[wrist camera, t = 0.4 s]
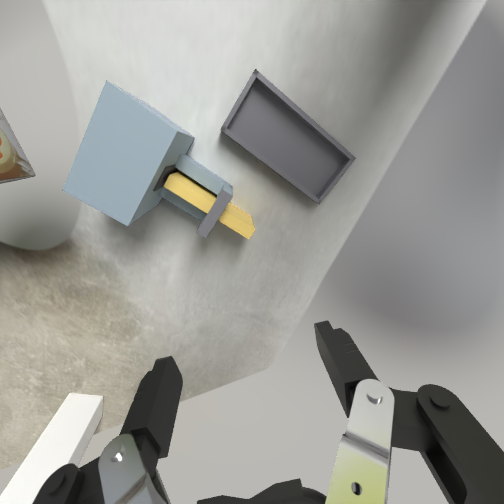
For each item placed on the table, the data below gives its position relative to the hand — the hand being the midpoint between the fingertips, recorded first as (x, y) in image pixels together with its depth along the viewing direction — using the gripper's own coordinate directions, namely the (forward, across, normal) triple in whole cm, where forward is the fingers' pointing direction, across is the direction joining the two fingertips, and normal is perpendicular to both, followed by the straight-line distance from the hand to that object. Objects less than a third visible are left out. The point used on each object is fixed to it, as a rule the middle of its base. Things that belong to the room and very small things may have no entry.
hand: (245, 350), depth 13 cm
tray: (+23, -9, -9) cm, 26 cm away
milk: (+23, +37, +28) cm, 52 cm away
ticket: (+23, +2, -5) cm, 23 cm away
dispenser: (+23, +6, -9) cm, 25 cm away
